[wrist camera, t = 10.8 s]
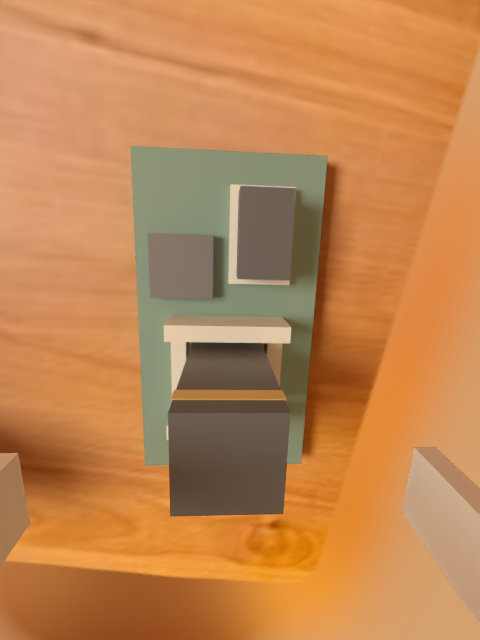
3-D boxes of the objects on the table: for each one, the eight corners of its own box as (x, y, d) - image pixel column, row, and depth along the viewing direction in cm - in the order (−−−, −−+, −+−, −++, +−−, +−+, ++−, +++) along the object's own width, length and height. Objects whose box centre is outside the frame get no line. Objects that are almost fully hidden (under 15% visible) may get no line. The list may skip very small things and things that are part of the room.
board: (136, 152, 19) (112, 125, 15) (321, 161, 20) (346, 138, 16) (149, 455, 24) (133, 497, 20) (297, 453, 25) (312, 493, 20)
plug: (193, 336, 21) (166, 412, 11) (259, 337, 21) (292, 411, 11) (193, 397, 22) (169, 517, 12) (257, 397, 22) (284, 514, 12)
